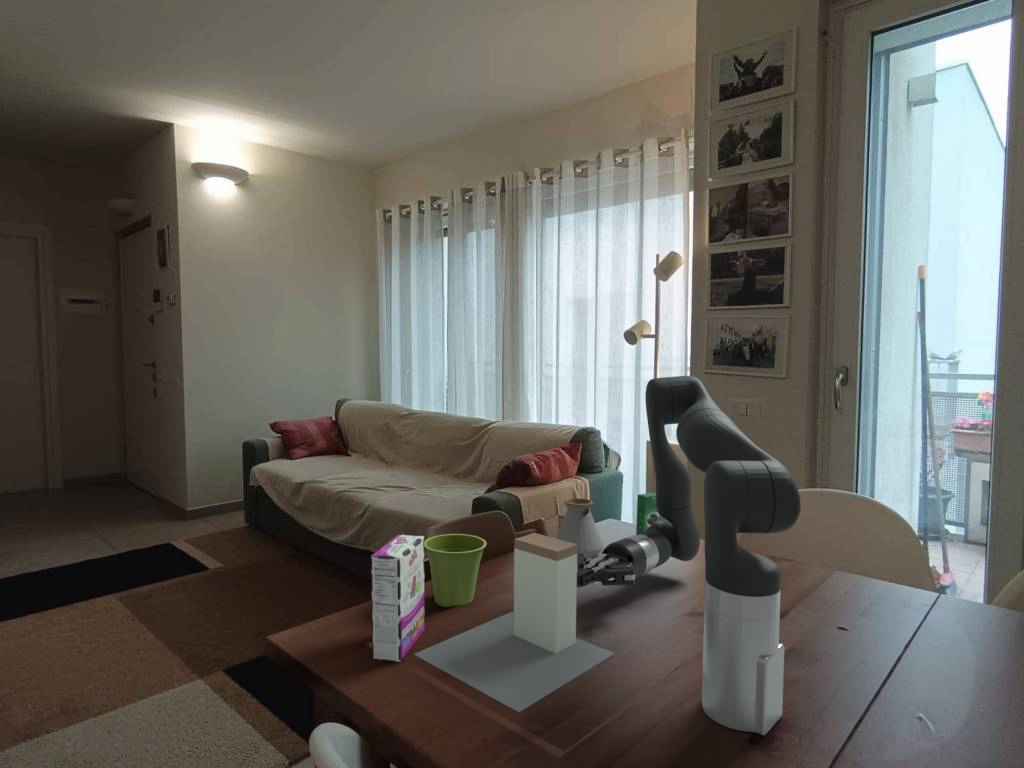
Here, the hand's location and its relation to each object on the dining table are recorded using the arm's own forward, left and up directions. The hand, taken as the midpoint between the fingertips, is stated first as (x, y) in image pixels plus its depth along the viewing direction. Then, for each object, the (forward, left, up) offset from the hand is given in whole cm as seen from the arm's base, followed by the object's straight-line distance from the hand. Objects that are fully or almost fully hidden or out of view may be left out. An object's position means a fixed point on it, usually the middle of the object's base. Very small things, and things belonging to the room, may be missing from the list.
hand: (575, 581), depth 106 cm
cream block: (0, +8, -7) cm, 11 cm away
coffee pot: (+19, -27, -8) cm, 34 cm away
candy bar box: (+16, +25, -8) cm, 31 cm away
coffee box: (+14, -49, -8) cm, 51 cm away
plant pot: (+23, +7, -8) cm, 25 cm away
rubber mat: (0, +15, -8) cm, 17 cm away
